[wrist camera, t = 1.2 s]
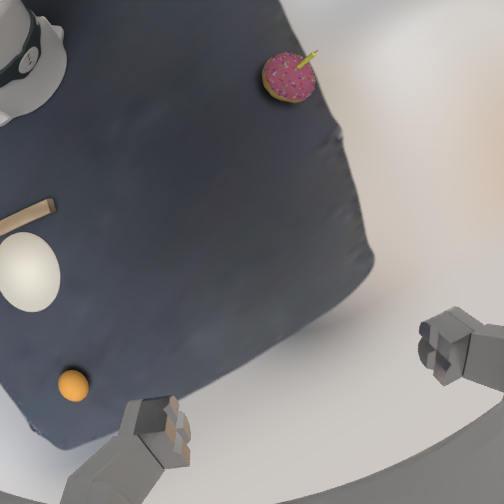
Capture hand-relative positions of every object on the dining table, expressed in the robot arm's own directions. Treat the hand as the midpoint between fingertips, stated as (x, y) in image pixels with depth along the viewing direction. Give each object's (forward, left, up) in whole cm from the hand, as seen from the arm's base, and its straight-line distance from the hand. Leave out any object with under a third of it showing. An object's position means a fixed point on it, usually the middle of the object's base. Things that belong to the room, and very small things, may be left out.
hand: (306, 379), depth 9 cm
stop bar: (-26, -12, -40) cm, 49 cm away
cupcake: (+2, +28, -40) cm, 49 cm away
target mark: (-20, -18, -40) cm, 48 cm away
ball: (-6, -32, -37) cm, 49 cm away
